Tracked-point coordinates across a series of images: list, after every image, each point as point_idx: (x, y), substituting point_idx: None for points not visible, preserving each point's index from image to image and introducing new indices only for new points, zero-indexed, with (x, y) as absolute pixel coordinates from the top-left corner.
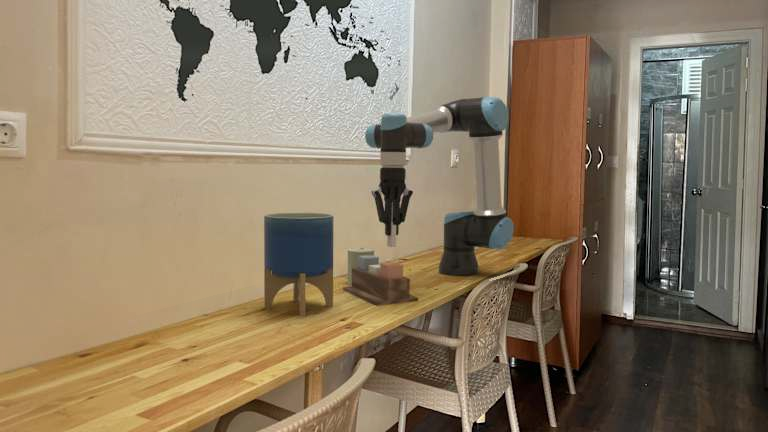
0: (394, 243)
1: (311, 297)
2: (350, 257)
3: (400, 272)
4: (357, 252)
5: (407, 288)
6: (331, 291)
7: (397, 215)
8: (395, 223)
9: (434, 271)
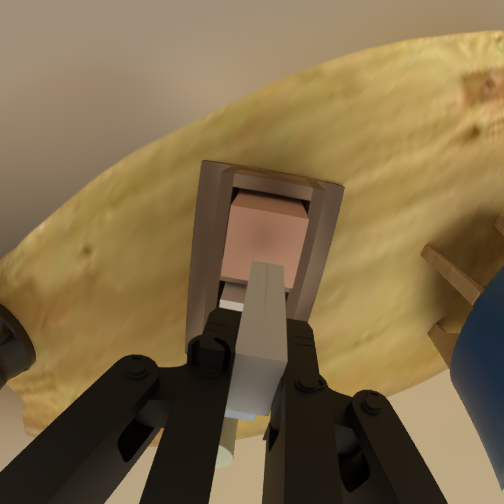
0: (262, 270)
1: (395, 341)
2: (234, 443)
3: (247, 200)
4: (222, 445)
5: (235, 169)
6: (446, 261)
7: (197, 436)
8: (228, 376)
9: (40, 366)
